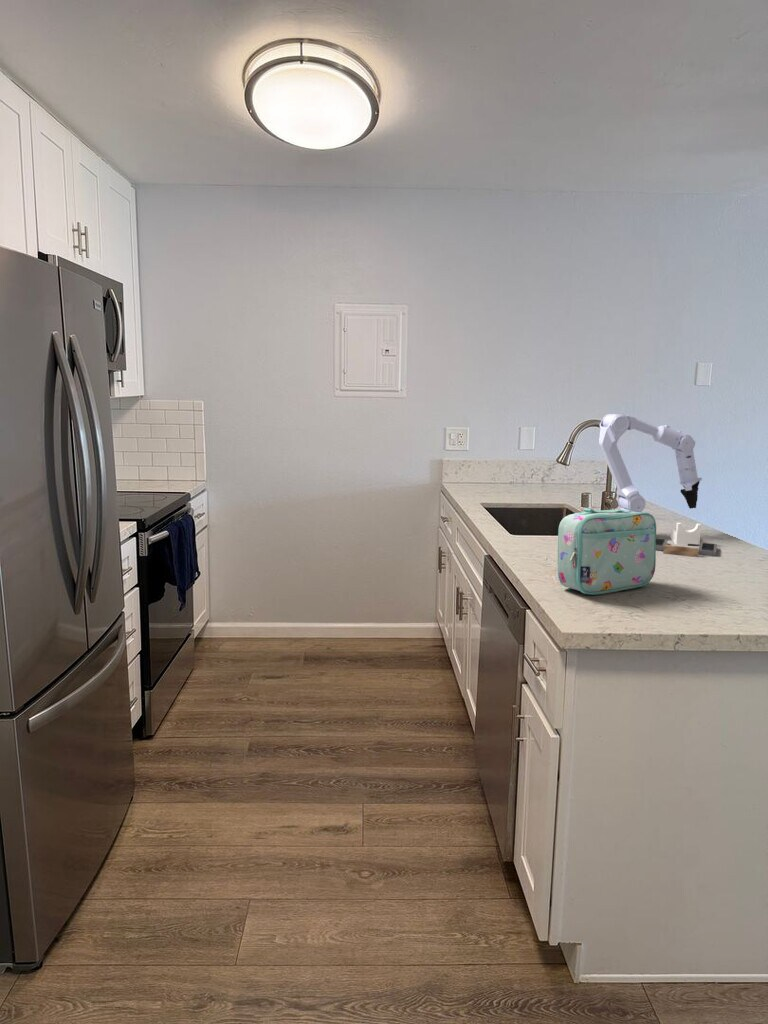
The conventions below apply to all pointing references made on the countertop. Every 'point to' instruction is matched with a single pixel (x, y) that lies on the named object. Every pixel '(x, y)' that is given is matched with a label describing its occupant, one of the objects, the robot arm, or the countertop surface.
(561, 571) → the lunch box
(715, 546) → the trap pits
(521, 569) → the countertop surface
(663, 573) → the countertop surface
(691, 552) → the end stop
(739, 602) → the countertop surface
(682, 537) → the bracket
